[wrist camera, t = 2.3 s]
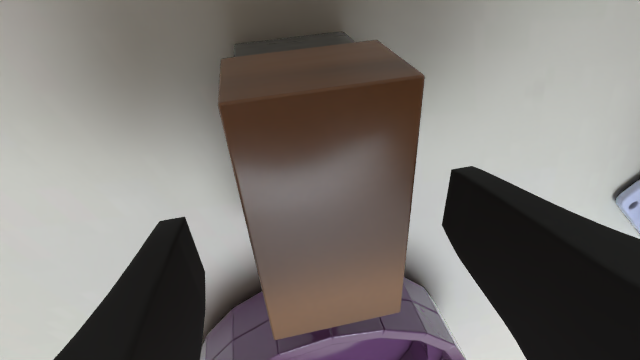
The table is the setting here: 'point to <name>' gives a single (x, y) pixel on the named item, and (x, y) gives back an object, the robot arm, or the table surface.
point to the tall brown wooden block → (323, 173)
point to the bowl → (338, 335)
